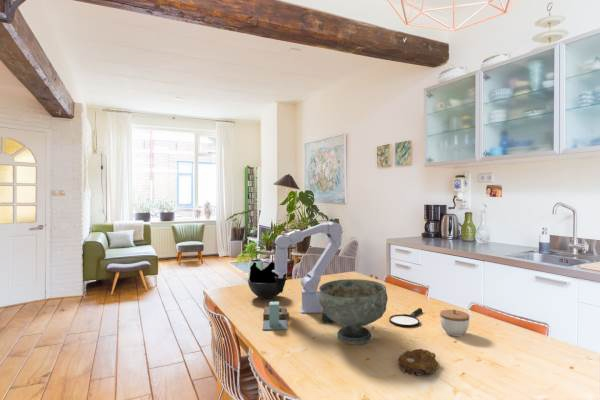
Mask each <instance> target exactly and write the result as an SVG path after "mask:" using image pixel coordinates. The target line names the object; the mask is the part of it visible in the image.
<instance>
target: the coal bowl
mask: <svg viewBox="0 0 600 400" xmlns="http://www.w3.org/2000/svg"><path fill="white" fill-rule="evenodd" d="M249 270H250V272H249V277H248V279H247V284H248V287H249V289H250V292H252V293H253V295H255V296H256V297H258V298H261V299H272V298H275V297H277V296H278V295H279V294H280V293H278V291H277V285H276V281H275V279H274V277H276V276H275V272H272V270H275V261H271V262H270V263H268V265H267V266H265V267H264V268H263V269H260V268H259V267H258V266H257V262H255V261H254V262H253V263H252V264H251V266H250V268H249ZM285 285H286V283H285V284H284V286H285Z"/></svg>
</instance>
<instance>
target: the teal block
mask: <svg viewBox="0 0 600 400" xmlns="http://www.w3.org/2000/svg"><path fill="white" fill-rule="evenodd" d="M268 307H269V326H279V307H280V301H269V304H268Z"/></svg>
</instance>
